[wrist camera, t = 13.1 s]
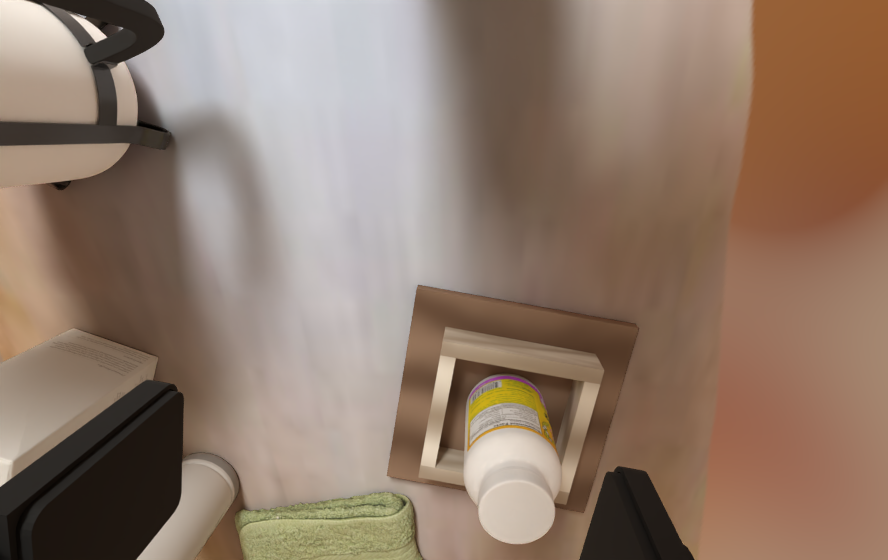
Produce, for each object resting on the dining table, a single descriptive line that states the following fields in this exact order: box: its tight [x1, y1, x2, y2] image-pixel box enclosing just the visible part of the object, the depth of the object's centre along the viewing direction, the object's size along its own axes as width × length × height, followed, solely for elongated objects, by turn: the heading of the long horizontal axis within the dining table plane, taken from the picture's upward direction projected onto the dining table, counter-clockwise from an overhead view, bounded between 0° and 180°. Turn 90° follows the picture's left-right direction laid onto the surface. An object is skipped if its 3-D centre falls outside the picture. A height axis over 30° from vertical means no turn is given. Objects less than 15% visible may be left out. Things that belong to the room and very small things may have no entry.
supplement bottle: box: [463, 374, 562, 544], centre depth 37 cm, size 7×7×13 cm
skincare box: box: [0, 328, 158, 487], centre depth 38 cm, size 8×7×16 cm
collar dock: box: [387, 285, 639, 513], centre depth 42 cm, size 18×18×4 cm
